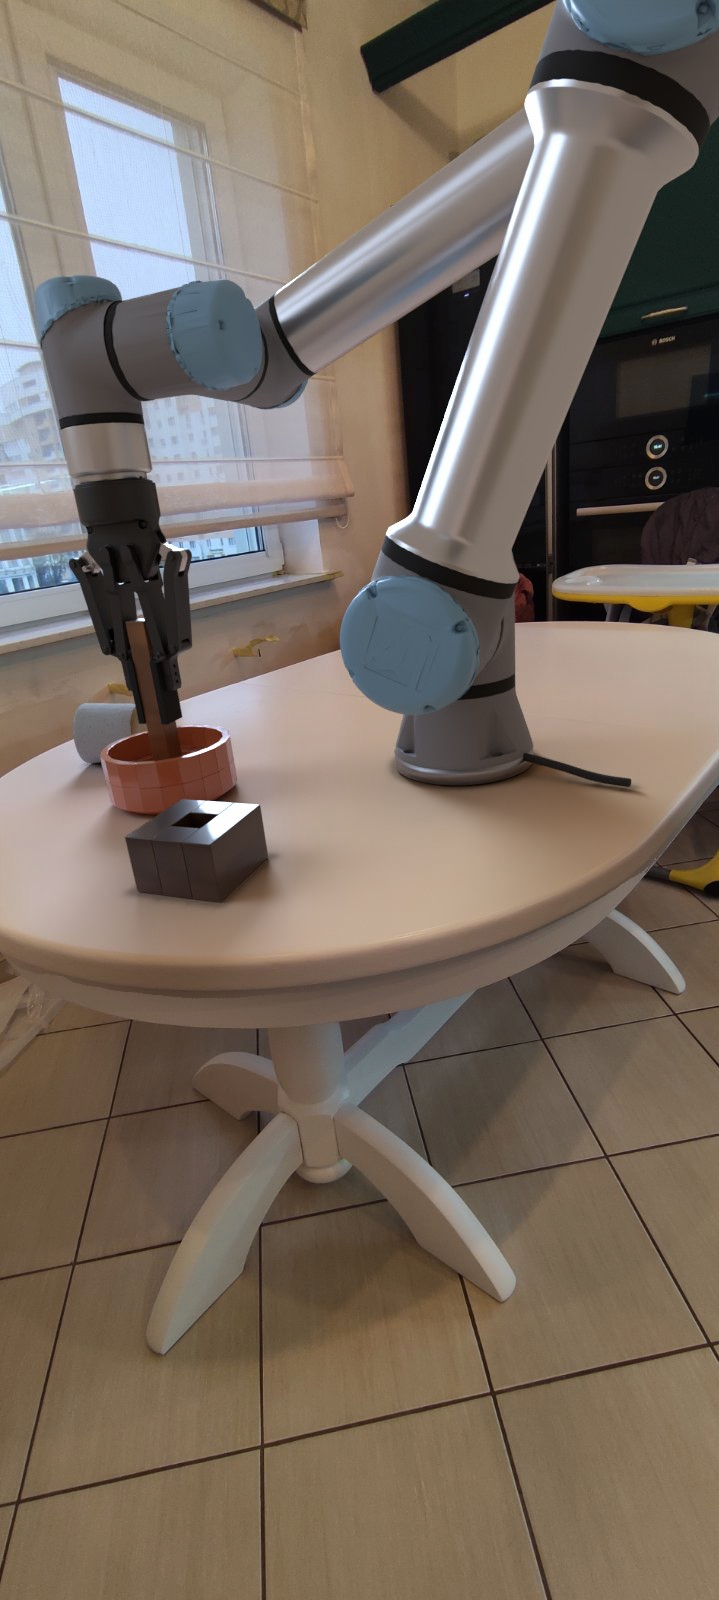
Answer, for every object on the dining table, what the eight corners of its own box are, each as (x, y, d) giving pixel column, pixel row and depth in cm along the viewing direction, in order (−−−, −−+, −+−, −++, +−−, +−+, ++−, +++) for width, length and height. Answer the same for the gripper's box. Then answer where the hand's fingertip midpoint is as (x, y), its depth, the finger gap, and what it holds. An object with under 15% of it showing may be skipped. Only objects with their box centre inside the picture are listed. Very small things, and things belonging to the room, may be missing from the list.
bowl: (259, 775, 83) (252, 725, 81) (193, 823, 72) (182, 766, 70) (161, 770, 88) (152, 723, 86) (85, 814, 77) (72, 761, 75)
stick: (187, 782, 80) (156, 617, 74) (176, 789, 78) (142, 621, 72) (171, 781, 81) (138, 618, 74) (159, 788, 79) (125, 621, 72)
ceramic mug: (142, 766, 90) (130, 706, 87) (79, 771, 91) (65, 711, 88) (168, 742, 100) (157, 687, 97) (110, 746, 101) (98, 692, 98)
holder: (268, 856, 63) (260, 804, 61) (220, 902, 56) (209, 844, 55) (191, 849, 66) (181, 798, 64) (137, 892, 59) (124, 836, 57)
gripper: (203, 471, 69) (240, 711, 77) (77, 487, 74) (125, 709, 83) (156, 470, 62) (202, 732, 71) (21, 487, 68) (80, 729, 77)
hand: (160, 720), depth 77 cm, fingers closed on stick, 2 cm apart
